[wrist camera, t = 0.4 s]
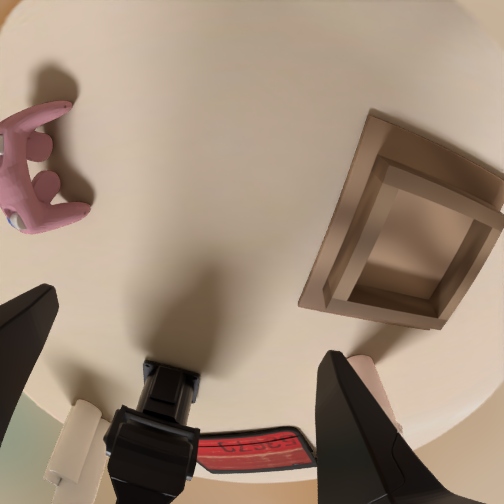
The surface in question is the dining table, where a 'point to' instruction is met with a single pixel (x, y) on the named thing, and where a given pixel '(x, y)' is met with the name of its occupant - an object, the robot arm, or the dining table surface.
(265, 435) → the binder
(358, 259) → the brown shallow square tray
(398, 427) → the smoothie
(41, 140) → the video game controller
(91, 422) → the vase
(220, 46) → the dining table surface
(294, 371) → the dining table surface
